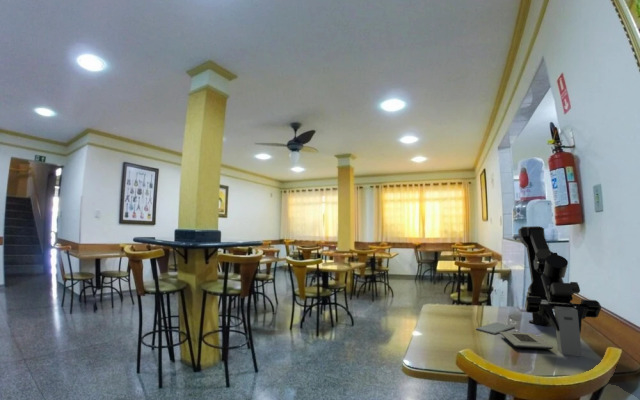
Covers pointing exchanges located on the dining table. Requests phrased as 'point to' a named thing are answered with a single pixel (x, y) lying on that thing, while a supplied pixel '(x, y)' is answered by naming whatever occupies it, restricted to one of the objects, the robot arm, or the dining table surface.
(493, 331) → the plate
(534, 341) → the electrical outlet
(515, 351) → the dining table surface
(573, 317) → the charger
